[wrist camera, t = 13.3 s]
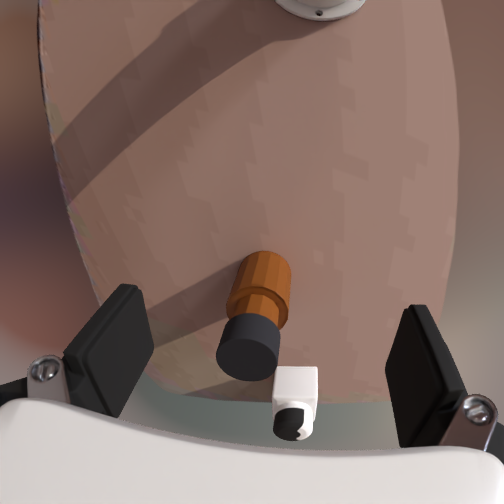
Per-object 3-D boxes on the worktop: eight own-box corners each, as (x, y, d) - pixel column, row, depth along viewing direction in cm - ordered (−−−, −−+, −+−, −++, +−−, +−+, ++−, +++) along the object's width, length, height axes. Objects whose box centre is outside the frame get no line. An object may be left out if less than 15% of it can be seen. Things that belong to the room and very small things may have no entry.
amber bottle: (239, 249, 44) (216, 303, 32) (292, 252, 43) (288, 309, 31) (240, 294, 47) (220, 354, 35) (289, 297, 46) (284, 361, 34)
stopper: (229, 291, 35) (213, 335, 29) (283, 295, 35) (279, 341, 28) (231, 333, 38) (217, 378, 31) (281, 337, 37) (275, 384, 30)
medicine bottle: (276, 391, 55) (269, 444, 44) (275, 365, 52) (268, 421, 41) (314, 391, 54) (314, 445, 43) (317, 365, 51) (317, 422, 40)
